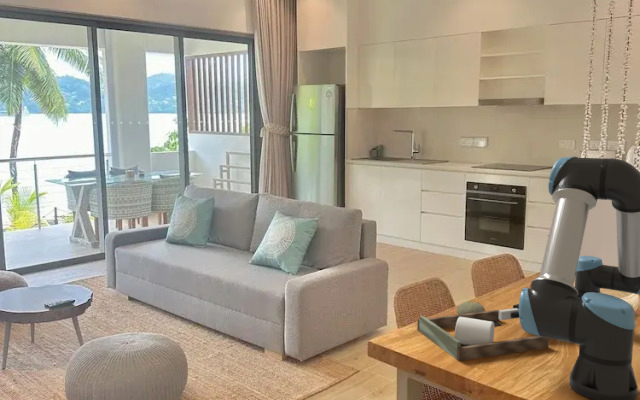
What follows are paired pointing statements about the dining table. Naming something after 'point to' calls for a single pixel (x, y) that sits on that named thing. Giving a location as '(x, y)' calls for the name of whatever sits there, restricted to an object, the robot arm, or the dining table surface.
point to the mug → (474, 331)
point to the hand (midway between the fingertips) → (500, 315)
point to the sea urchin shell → (470, 308)
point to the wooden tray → (453, 345)
